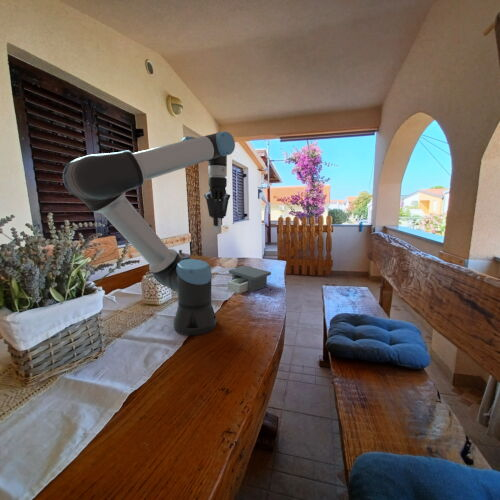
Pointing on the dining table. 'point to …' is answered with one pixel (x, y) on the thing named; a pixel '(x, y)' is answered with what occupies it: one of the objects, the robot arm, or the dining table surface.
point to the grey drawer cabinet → (251, 276)
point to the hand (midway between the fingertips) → (217, 233)
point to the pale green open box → (239, 285)
